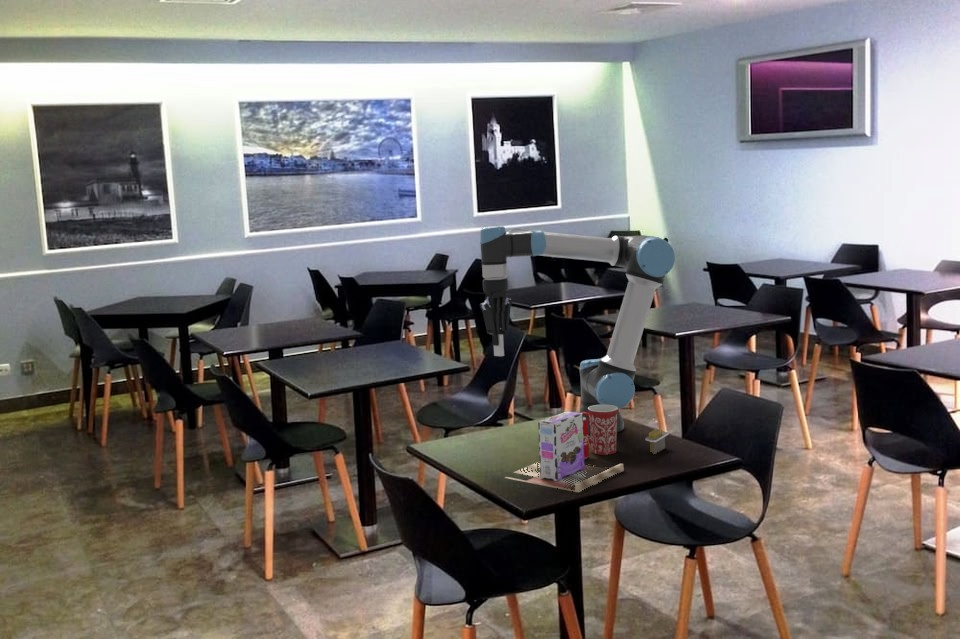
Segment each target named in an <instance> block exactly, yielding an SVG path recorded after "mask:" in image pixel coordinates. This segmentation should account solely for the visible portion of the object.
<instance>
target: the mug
mask: <svg viewBox="0 0 960 639" xmlns="http://www.w3.org/2000/svg"><path fill="white" fill-rule="evenodd" d="M588 411H589V413H587V412H581V413H582V414H583V415H585V416H586V417H587V418H588V421H589V422H590V434H589V435H590V437H589V446H590V448H591V453H593V454H595V455H600V456H607V455H608V454H609V455H612V454H615V453H617V438H618V436H617V434H618V432H617V411H618V407H617V406H614V405H593V406H590V407H588Z"/></svg>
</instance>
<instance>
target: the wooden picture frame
mask: <svg viewBox="0 0 960 639" xmlns="http://www.w3.org/2000/svg"><path fill="white" fill-rule="evenodd" d="M538 462H539V461H537V462H535V463H536V464H535V463H532V464H530V465H528V466H525V467H523V468H524V470H525V472H527V473H525V472H524V471H523V468H520V469H521V471H522V472H521V471H520V469H518V470H516V471H513V472H512V473H513V474H518V475H522V474H523V475H524V476H527V475H528V477H532V476H533V477H532V478H530V479H527V480H526V479H520V478H516V477H512V476H511V477H510V476H505V477H504V479H508V480H513V481H518V482H522V483H529V484H532V485H539V486H541V487H549V488H553V489H557V488H558V489H559V490H564V491H568V492H572V491H573V493H581V492H583V491H584V489H585V490H587V489H588V487H589V488H590V486H591V487H593V486H596V485H598V484H599V483H601V482H603V481H602V480H604V479H606V480H608V479H610V478H612V477H614V476H616V475H618V474H620V473H622V472H624V470H625V468H624V463H619V464H617V465H614V466H612V467H609V469H607V470H605V471H603V472H601V473H599V474H597V475H594V476H592V477H590V478H588V479H585V478H584V477H586V476H585V475H584V474H583V473H584V472H583V470H581V472H583V473H581V472H580V471H579V473H581V474H582V475H583V476H584V477H583V476H582V475H581V474H579V473H578V472H577V474H578V475H577V474H574V475H571V476H572V477H574V478H572V477H571V476H568V477H570V478H572V479H574V480H572V479H570V478H568V477H566V478H568V479H570V480H572V481H574V482H572V481H570V480H568V479H566V478H564V479H566V480H568V481H570V482H572V483H574V484H572V483H570V482H568V481H566V480H564V479H561V480H559V481H552V480H548V479H543V478H540V472H538V471H537V463H538ZM538 464H539V465H538V466H539V467H538V468H540V463H538ZM594 466H595V465H593V467H594ZM527 467H528V471H530V472H528V471H527V470H526V469H527ZM586 467H587V465H586ZM589 467H590V466H589ZM531 468H532V469H531ZM535 469H536V471H537V472H538V473H537V472H536V471H535ZM587 469H588V467H587ZM531 470H533V472H532V471H531ZM539 470H540V469H539ZM588 470H589V469H588ZM591 470H592V469H591ZM585 472H586V470H585ZM586 473H587V472H586ZM586 473H585V474H586ZM617 473H618V474H617ZM538 474H539V475H538ZM615 474H616V475H615ZM613 475H614V476H613ZM538 476H539V477H538ZM611 476H612V477H611ZM609 477H610V478H609ZM575 478H576V479H575ZM579 478H580V479H582V478H583V479H585V480H583V479H582V480H583V481H582V480H580V479H579ZM607 478H608V479H607ZM577 479H578V480H580V481H581V482H580V481H578V480H577ZM563 480H564V481H563ZM575 480H576V481H575ZM565 481H566V482H565ZM577 481H578V482H577ZM604 481H605V480H604ZM567 482H568V483H570V484H572V485H571V487H572V486H573V485H575V487H574V488H573V489H572V490H571V489H570V488H568V489H567V487H568V486H569V485H570V484H568V483H567ZM575 482H576V483H575ZM598 482H599V483H598ZM565 483H566V484H565ZM567 484H568V485H567ZM566 485H567V486H566ZM592 485H593V486H592ZM565 486H566V488H564V487H565ZM586 488H587V489H586ZM582 490H583V491H582Z"/></svg>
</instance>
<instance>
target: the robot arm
mask: <svg viewBox="0 0 960 639" xmlns="http://www.w3.org/2000/svg"><path fill="white" fill-rule="evenodd" d="M479 244H480V254H481V255H480V256H481V268H482V269H481V270H482V274H481V275H482V278H483V280H482V290H483V292H484V293H485V297H484V302H482V303H480V304H479V307H480V310H481V311H482V315H483V321H484V324H485V325H484V326H485V330H486V334H488V335H491V336H492V339H491V340H492V345H493V356H494V357H504V356H505V349H504V348H505V347H504V346H505V335H507V333H508V331H509V328H510V326H509V325H510V317H511V308H512V303H513V298H508V295H507V293H506V292H507V291H509V281H508V278H507V277H508V260H507V258H513V257H515V258H517V257H519V258H520V257H536V256H543V257H551V258H552V257H554V258H561V259H563V258H564V259H572V260H582V261H583V260H584V261H593V262H603V263H608V264H610V266H612V267H614V266H615V267H620V268H626V272H625V275H626V278H627V281H628V282H627V287H626V289H625V293H624V295H623V298H622V303H621V305H620V309H619V312H618V315H617V318H616V322H615V326H614V328H613V332H612V335H611V339H610V341H609V342H610V343H609V345H608V349H607V352H606V355H604V356H603V357H601V358H597V359H596V358H594V359H585V360H582V361H581V362H580V363H579V364H580V365H579V376H580V396H581V397H580V399H581V405H580V406H581V408H580V411H579V413H581V412H587V413H589V411H588V407H590V406H593V405H614V406H617V407H618V411H617V433H619V432H623V430H624V429H625V426H624V425H625V423H624V419H623V416H622V413H621V411H620V409H622V408H624V407H626V406H627V405H628V404H629V403H630V402H631V401H632V400H633V398H634V395H635V394H636V393H635V392H636V391H635V390H636V388H635V387H636V386H635V384H634V379H635V377H636V376H635V375H636V372H637V368H636V367H635V364H634V362H635V360H636V356H637V351H638V348H639V347H640V346H639V345H640V342H641V340H642V336H643V332H644V329H645V325H646V322H647V318H648V316H649V312H650V310H651V306H652V303H653V299H654V296H655V293H656V290H657V289H658V288H661V287H662V286H663V284H664V282H665V278H666V275H667V274H668V273H670V272H671V271H672V269H673V267H674V265H675V262H676V261H675V260H676V255H675V251H674V248H673V246H672V245H671V244H670V243H669V242H668V241H667V240H665V239H663V238H660V237H658V236H650V235H643V234H641V235H621V236H620V235H614V236H612V237H602V236H589V235H582V234H581V235H578V234H570V233H560V232H550V231H548V232H547V231H543V230H539V229H538V230H535V229H534V230H531V229H530V230H528V229H521V228H513V229H510V230H508V231H506V227H505V226H503V225H492V226H491V225H490V226H484V227H481V229H480V242H479ZM583 417H585V418H586V420H587V422H588V435H591V434H590V422H589V421H588V418H587V417H586V416H585V415H583Z"/></svg>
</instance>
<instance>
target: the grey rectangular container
mask: <svg viewBox="0 0 960 639" xmlns="http://www.w3.org/2000/svg"><path fill="white" fill-rule="evenodd" d="M667 436H669V431H668V432H667V431H663V428H661V429H659V430H658V428H655V429H653V430H652V431H650V432H649V433H648V436H646V437H645V441H647V442H649V445H650V446H649V448H650V452H652V453H651V454H653V455H654V454H655V455H657V454H658V453H659V452H661V451H663V450H664V449H666V437H667ZM657 452H658V453H657Z"/></svg>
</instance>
